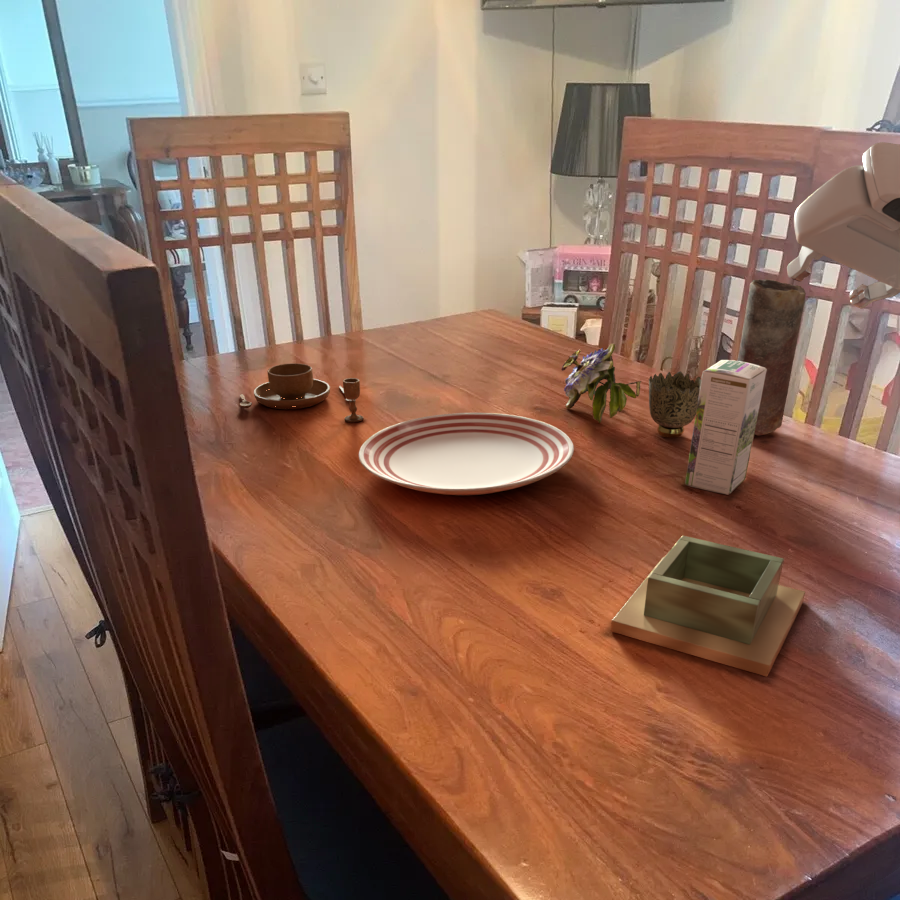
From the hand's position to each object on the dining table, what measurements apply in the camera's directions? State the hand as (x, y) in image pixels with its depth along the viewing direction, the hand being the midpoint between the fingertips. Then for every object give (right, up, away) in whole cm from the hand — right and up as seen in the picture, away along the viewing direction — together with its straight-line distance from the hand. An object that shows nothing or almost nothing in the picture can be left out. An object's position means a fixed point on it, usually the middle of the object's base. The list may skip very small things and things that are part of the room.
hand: (824, 288), depth 94 cm
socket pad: (-17, -35, -13) cm, 41 cm away
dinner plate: (-39, -17, +18) cm, 46 cm away
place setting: (-64, -4, +40) cm, 76 cm away
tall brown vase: (+2, -10, +29) cm, 31 cm away
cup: (-10, -11, +28) cm, 31 cm away
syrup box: (-8, -20, +13) cm, 25 cm away
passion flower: (-18, -5, +37) cm, 42 cm away
